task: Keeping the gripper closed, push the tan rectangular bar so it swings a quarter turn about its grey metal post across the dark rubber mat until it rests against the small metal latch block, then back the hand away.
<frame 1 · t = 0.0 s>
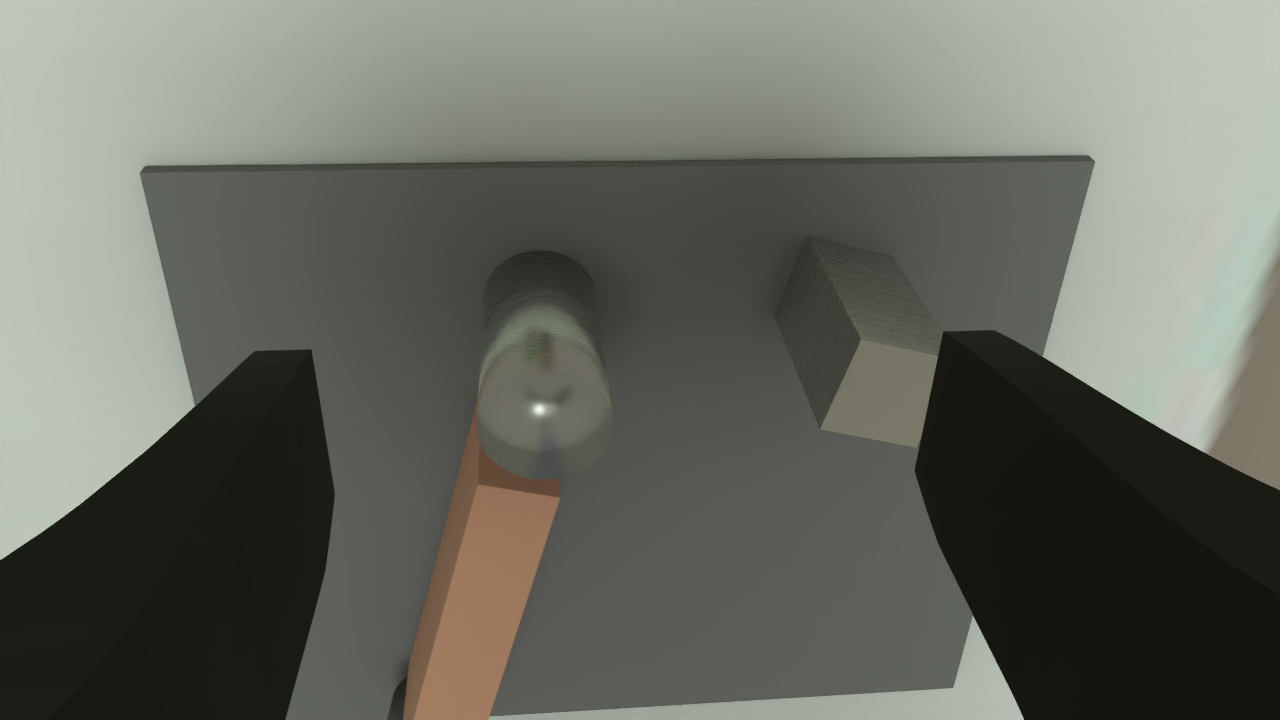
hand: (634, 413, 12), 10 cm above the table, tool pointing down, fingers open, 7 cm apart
mat: (628, 475, 26), on the table
hinge post: (540, 294, 23), resting on mat
latch block: (829, 279, 23), resting on mat
tan rectangular bar: (468, 610, 24), point 2 cm above the table, hinge at 0.0°
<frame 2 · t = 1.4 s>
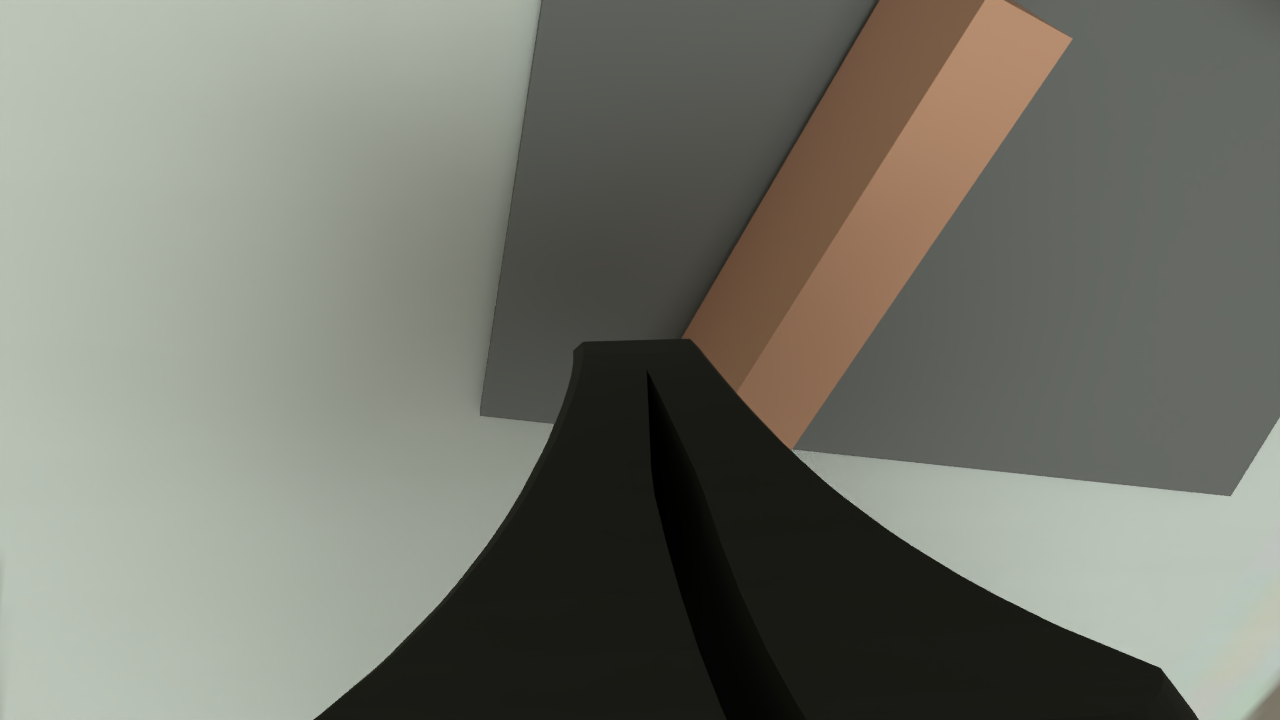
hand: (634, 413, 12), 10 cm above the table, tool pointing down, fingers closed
mat: (1002, 135, 22), on the table
tan rectangular bar: (826, 242, 20), point 2 cm above the table, hinge at 0.0°
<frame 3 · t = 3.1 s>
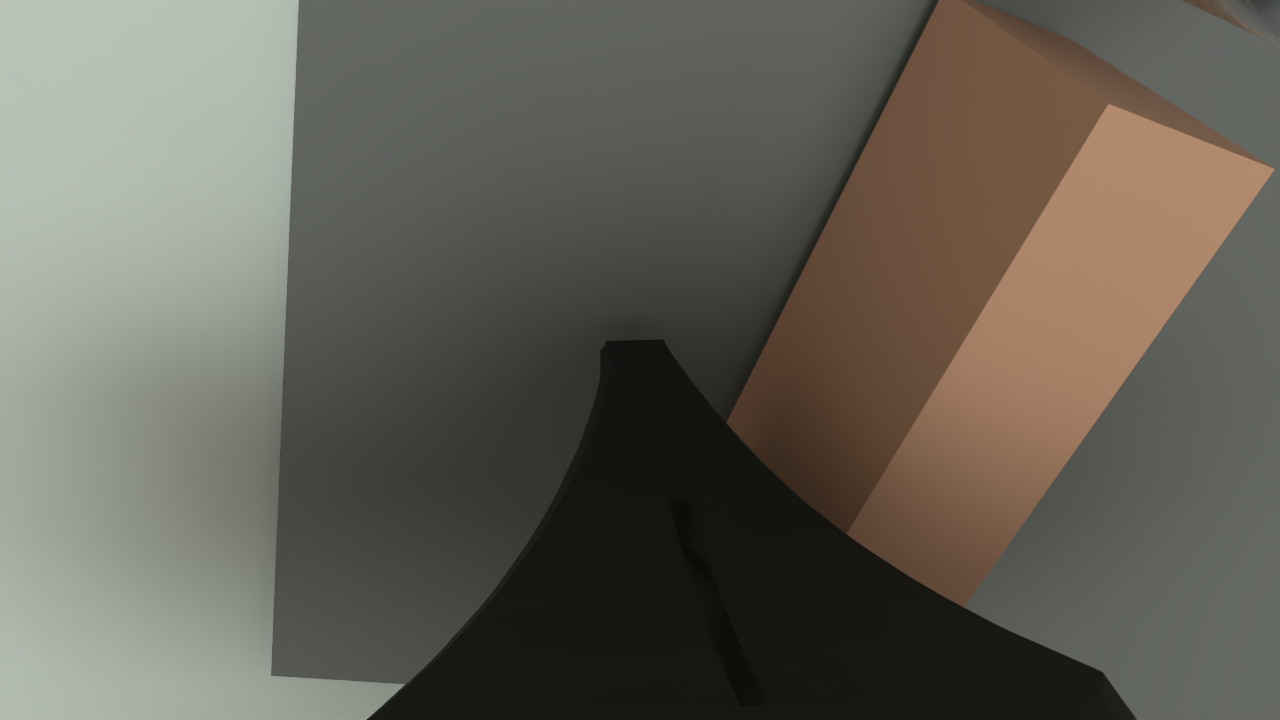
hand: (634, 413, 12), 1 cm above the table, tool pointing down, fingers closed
mat: (1067, 273, 14), on the table
tan rectangular bar: (839, 487, 12), point 2 cm above the table, hinge at 5.9°, touching gripper
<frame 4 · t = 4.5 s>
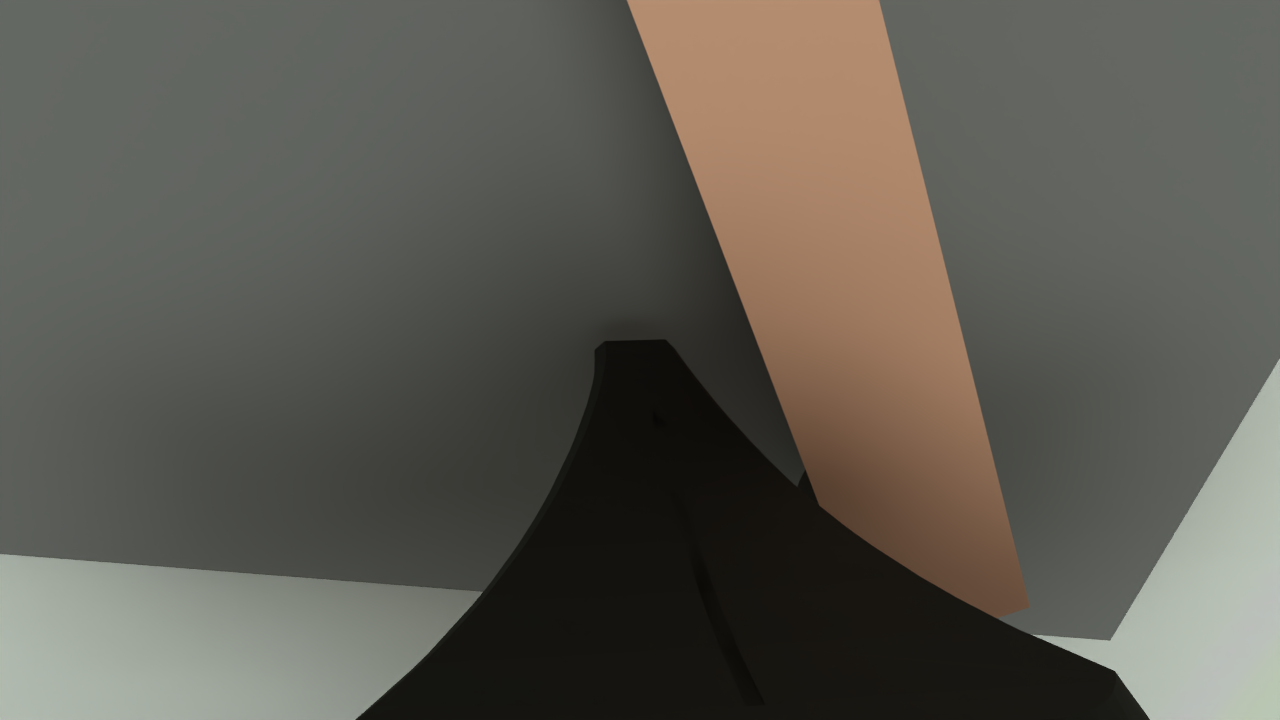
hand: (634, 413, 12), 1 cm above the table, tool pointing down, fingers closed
mat: (620, 28, 11), on the table
tan rectangular bar: (805, 228, 10), point 2 cm above the table, hinge at 47.5°, touching gripper
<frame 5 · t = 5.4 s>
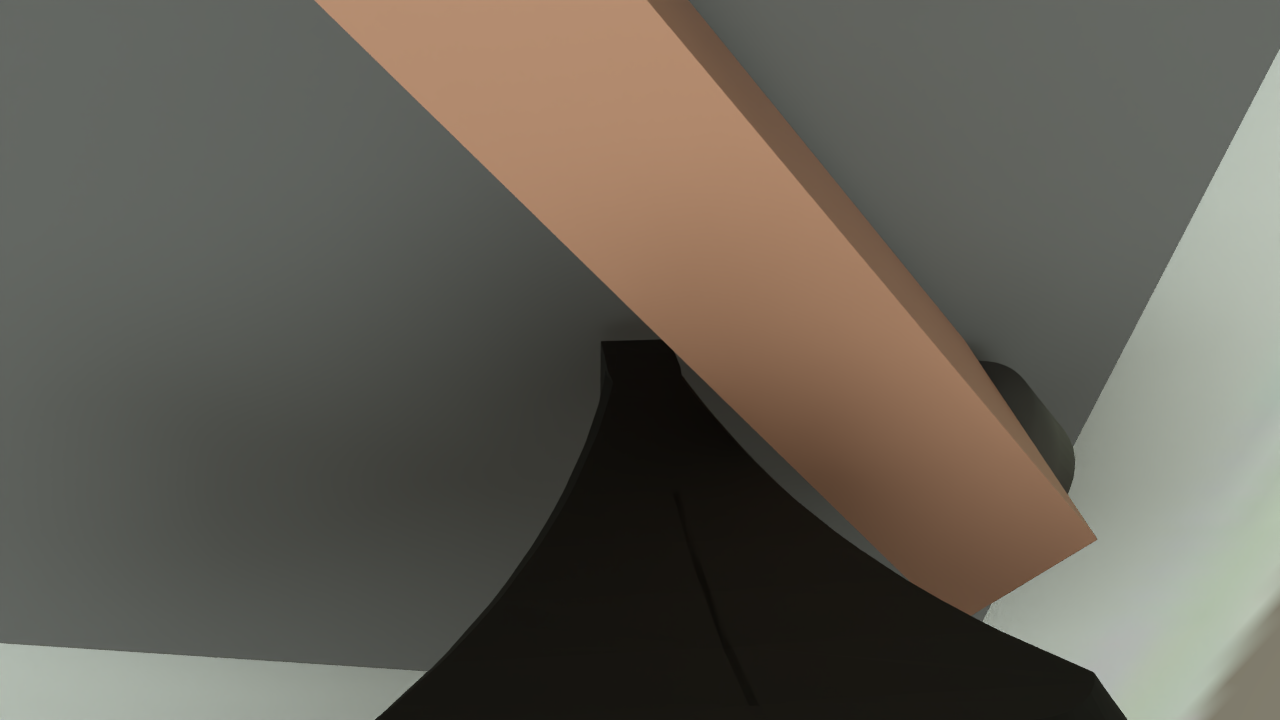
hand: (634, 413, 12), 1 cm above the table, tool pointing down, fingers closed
mat: (384, 142, 12), on the table
tan rectangular bar: (748, 231, 10), point 2 cm above the table, hinge at 67.1°, touching gripper
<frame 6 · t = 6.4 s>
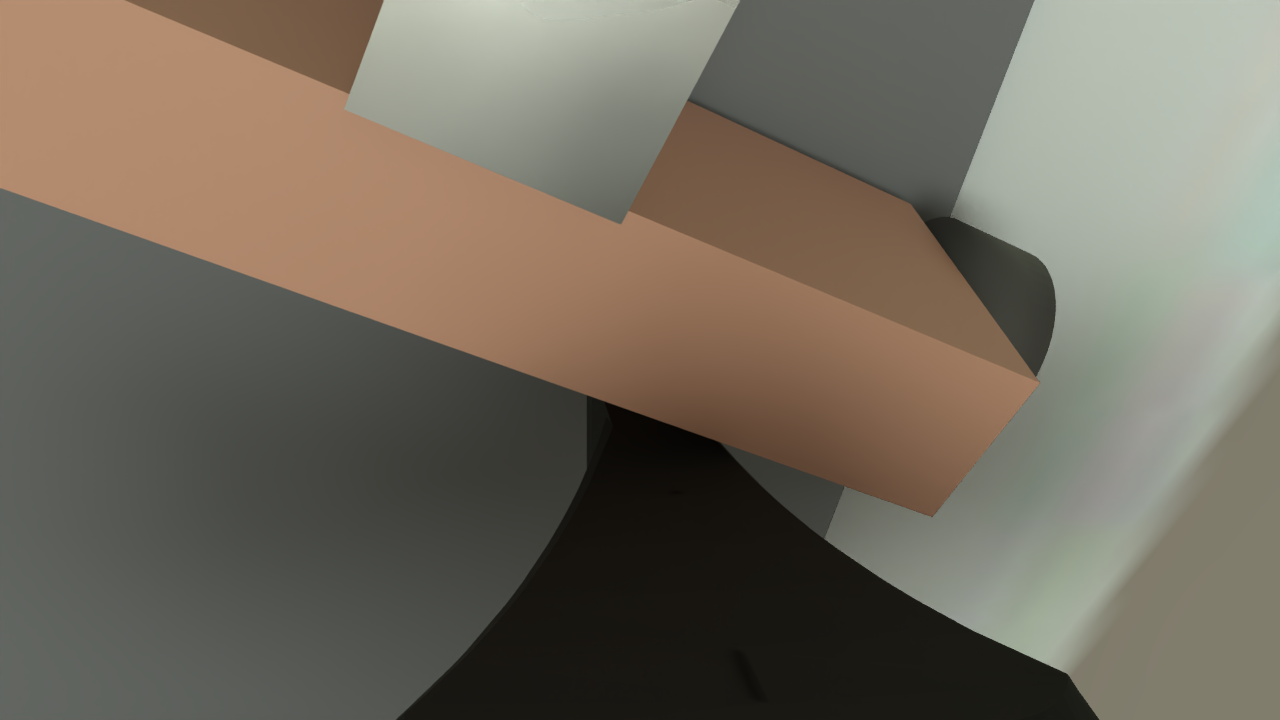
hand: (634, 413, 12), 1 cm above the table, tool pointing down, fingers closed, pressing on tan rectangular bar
mat: (103, 300, 12), on the table
tan rectangular bar: (566, 197, 10), point 2 cm above the table, hinge at 90.2°, touching gripper, latch block
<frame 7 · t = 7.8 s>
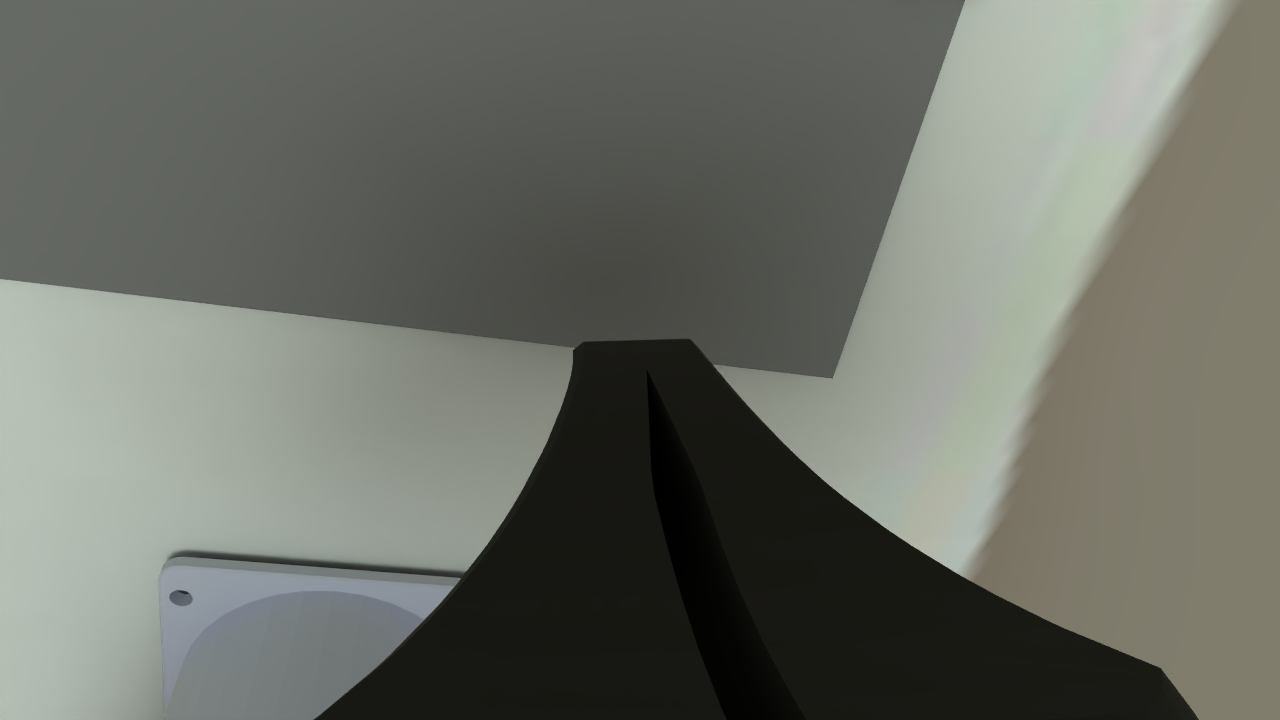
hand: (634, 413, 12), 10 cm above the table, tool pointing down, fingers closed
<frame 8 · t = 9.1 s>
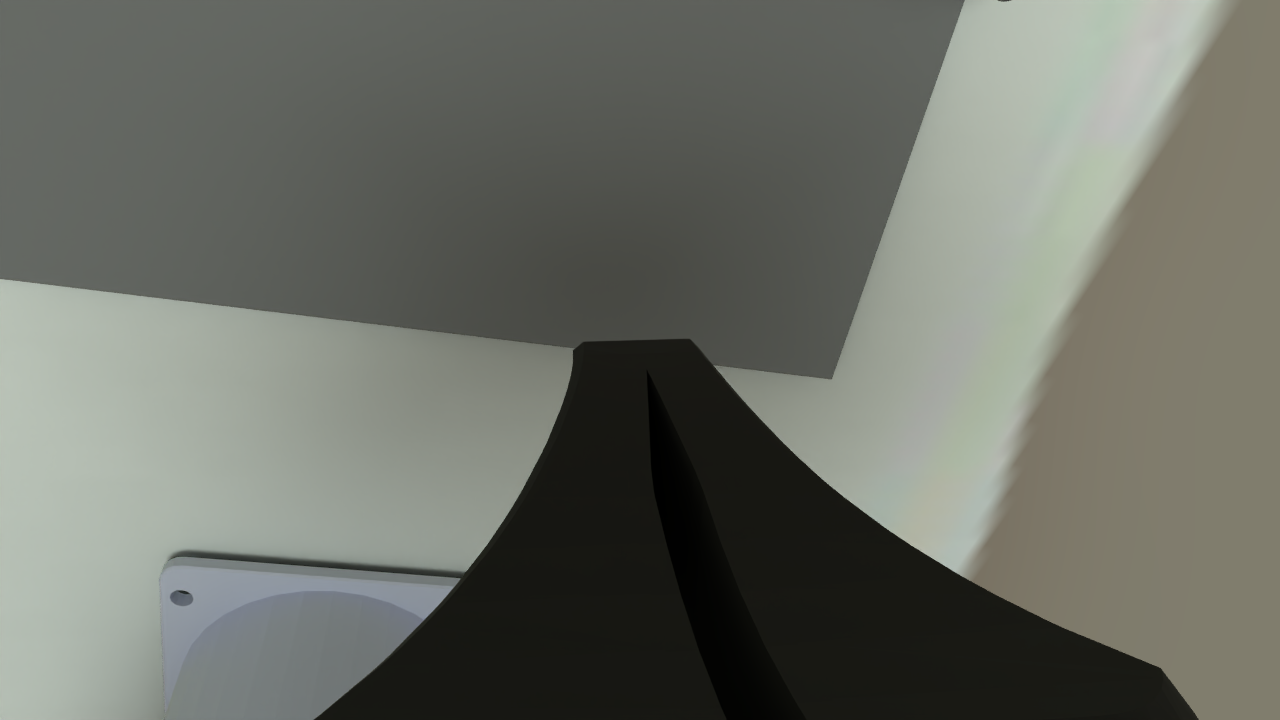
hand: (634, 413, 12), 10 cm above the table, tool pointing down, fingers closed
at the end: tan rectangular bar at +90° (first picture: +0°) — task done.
